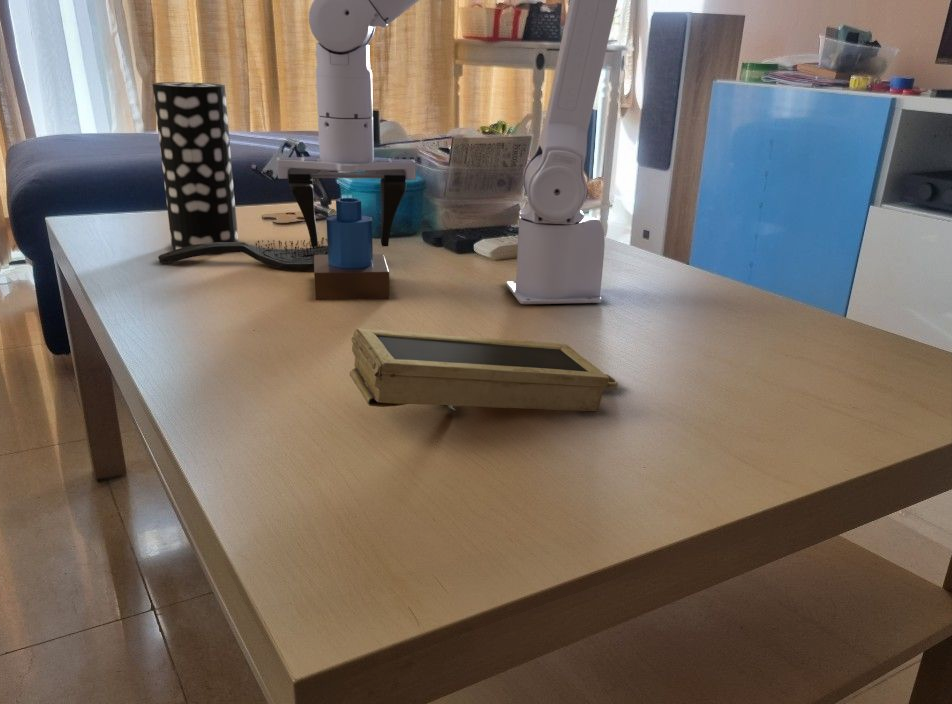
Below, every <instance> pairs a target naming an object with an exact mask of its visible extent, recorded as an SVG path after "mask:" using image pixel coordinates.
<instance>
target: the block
mask: <svg viewBox="0 0 952 704" xmlns="http://www.w3.org/2000/svg"><path fill="white" fill-rule="evenodd" d="M313 275H314V277H313V278H314V295H315V300H317V301H318V300H363V299H364V300H365V299H390V297H391V296H390V270H389V267H388V264H387V261H386V258H385V255H384V253H373V263H372V265H370V266H367V267H363V268H352V269H349V268H338V267H334V266H331V265H329V263H328V255H314V270H313Z"/></svg>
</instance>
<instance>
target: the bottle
mask: <svg viewBox="0 0 952 704" xmlns="http://www.w3.org/2000/svg"><path fill="white" fill-rule="evenodd" d="M325 219H326V239H327V241H326V244H327V245H328V263H329V265H331V266H334V267H338V268H349V269H352V268H363V267H367V266H370V265H372V263H373V254H374V251H373V250H374V249H373V248H374V246H373V245H374V244H373V219H372V217H370V216H369V215H364V214H362V199H360V198H355V197H340V198H336V199H335V214H333V215H329V216H327V217H326V218H325Z"/></svg>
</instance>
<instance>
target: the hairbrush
mask: <svg viewBox="0 0 952 704" xmlns="http://www.w3.org/2000/svg"><path fill="white" fill-rule="evenodd" d="M261 242H263V243H264V240H263V239H262V241H261ZM269 242H270V241H269V240H267V244H265V247H263V246H262V245H260V240H257V242H255V245H253V244H250V243H247V242H244V241H242V242H241V241H238V242H214V243H205V244H195V245H191V246H187V247H183V248H180V249H176V250H173V249H172V250H170V251H168V252H164V253H161V254H160V255H158V261H159V264H169V263H175V262H178V261H182V260H187V259H191V258H195V257H201V256H206V255H211V254H212V253H213V254H227V253H228V254H229V253H230V254H231V253H232V254H233V253H242V254H245V255H247V256H249V257H251V258H252V259H254V260H256V261H259V262H260V263H263V264H265V265H267V266H270V267H272V268H274V269H280V270H284V271H291V272H306V271H307V272H310V271H311V272H312V271H314V255H328V243H326V244H325V245H324V242H327V238H325V237H321V241H319V240H318V247H311V240H310V239H309V241H308V242H307V243H306V244H305V242H306V241H305V239H303V241H302V240H300V243H301V246H303V247H299V241H297V243H295V247H294V243H293V240H289V243H290V248H288V245H287V240H285V242H284V246H283V242H282V241H281V240H278V241H277V242H278V247H279V248H276V247H275V246H273V245H275V239H273V243H272V242H271V243H269ZM282 246H283V248H282ZM308 246H309V247H308ZM270 247H271V248H270ZM213 254H212V255H213Z"/></svg>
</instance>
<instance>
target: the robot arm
mask: <svg viewBox="0 0 952 704" xmlns="http://www.w3.org/2000/svg"><path fill="white" fill-rule="evenodd" d="M419 2H420V0H313V1H312V3H311V4H310V8H309V12H308V23H309V29H310V31H311V33H312V35H313V37H314V38H315V40H316V41H317V42H316V43H315V59H316V68H315V88H316V89H315V90H316V109H317V129H318V131H317V132H318V151H319V152H318V153H319V156H292V157H288V156H287V157H284V156H283V157H282V156H281V157H280V156H279V157H277V158H276V169H277V179H278V180H279V179H286V180H287V179H288V187H289V189H290V192H291V194H292V195H293V198H294V199H295V201H296V202H297V205H298V208H299V210H300V211H301V214H302V217H303V220H304V222H305V225H306V227H307V231H308V235H309V241H310V240H311V242H310V244H311V248H312V247H319V246H318V245H319V243H318V241H319V240H318V239H319V238H318V230H317V229H318V228H317V221H316V215H315V196H314V179H380V180H379V181H380V205H381V217H380V218H381V219H380V244H381V247H389V244H390V243H389V242H390V236H391V230H392V226H393V222H394V219H395V216H396V213H397V210H398V208H399V205H400V203H401V201H402V199H403V196H404V195H405V192H406V189H407V182H406V180H407V181H415V180H416V178H417V177H416V175H417V174H416V173H417V172H416V167H417V166H416V165H417V163H416V161H415V159H413V158H410V159H409V158H406V159H405V158H389V157H376V156H375V151H374V150H375V149H374V147H375V146H374V143H375V141H374V111H373V109H374V107H373V106H374V105H373V104H374V103H373V72H372V69H371V61H370V60H371V58H370V57H371V56H370V55H371V54H370V45H369V43H370V42H371V41H372V39H373V38H374V34H375V30H376V27H381V28H386V27H387V26H389V25H390V24H392V23H393V22H394V21H395V20H397V19H398V18H399V17H400V16H401V15H403V14H404V13H405V12H407V11H408V10H409V9H411V8H412V7H413V6H414V5H416V4H418V3H419ZM617 4H618V0H569V2H568V7H567V12H566V17H565V23H564V27H563V31H562V37H561V41H560V46H559V51H558V55H557V61H556V65H555V70H554V75H553V80H552V84H551V90H550V94H549V99H548V103H547V109H546V113H545V118H544V122H543V125H542V128H541V131H540V135H539V137H538V141H537V142H538V143H537V146H536V150H535V152H534V154H533V155H532V156H531V158H530V159H529V160H528V162H527V163H526V164H525V166H524V169H523V174H522V185H523V188H524V191H525V193H526V196H527V202H526V205H525V206H524V207H522V208H521V209H520V210H519V212H518V233H517V250H516V251H517V253H516V272H515V273H516V274H515V280H510V281H509V280H507V281H506V284H505V285H506V287H507V288H508V289H509V291H510V292H511V294H512V295H513V296H514V297H515V299H516V300H517V302H518V303H519V304H521V305H551V304H553V305H555V304H557V305H558V304H559V305H560V304H591V303H592V304H595V303H596V304H599V303H600V304H601V303H602V301H603V298H602V297H601V292H602V291H601V290H602V281H603V270H604V269H603V268H604V258H605V257H604V256H605V246H606V245H605V232H604V227H603V224H602V222H601V220H600V219H598V218H595V217H585V213H584V211H583V210H581V209H582V208H583V205H584V204H585V201H586V198H587V191H588V188H587V182H586V178H585V172H584V169H585V164H586V163H585V162H586V158H587V151H588V149H587V146H588V131H589V128H590V123H591V118H592V114H593V109H594V105H595V101H596V96H597V93H598V92H597V91H598V87H599V83H600V78H601V74H602V70H603V66H604V61H605V57H606V53H607V48H608V43H609V39H610V34H611V31H612V26H613V21H614V17H615V13H616V9H617Z"/></svg>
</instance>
